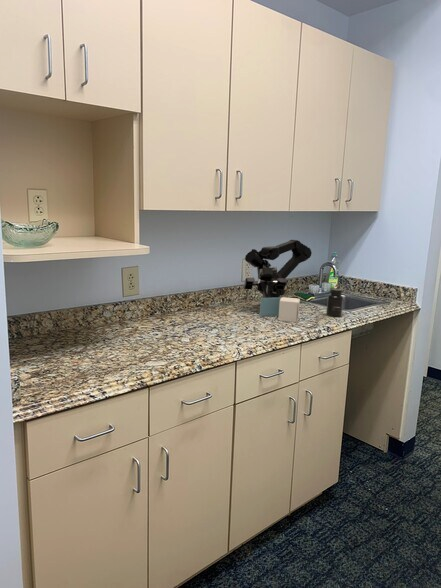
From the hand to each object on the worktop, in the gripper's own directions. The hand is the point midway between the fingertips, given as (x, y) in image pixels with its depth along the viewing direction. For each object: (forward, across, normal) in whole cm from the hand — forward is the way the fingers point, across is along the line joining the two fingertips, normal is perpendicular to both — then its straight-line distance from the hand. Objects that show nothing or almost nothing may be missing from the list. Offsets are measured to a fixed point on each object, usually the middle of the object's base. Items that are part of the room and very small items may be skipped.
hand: (267, 299), depth 202 cm
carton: (+11, +8, -1) cm, 14 cm away
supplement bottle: (+5, +32, +6) cm, 32 cm away
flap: (+7, +1, +3) cm, 7 cm away
